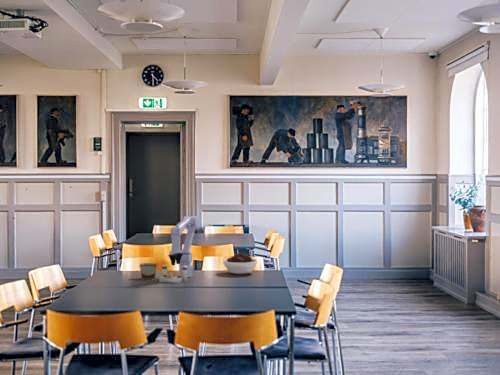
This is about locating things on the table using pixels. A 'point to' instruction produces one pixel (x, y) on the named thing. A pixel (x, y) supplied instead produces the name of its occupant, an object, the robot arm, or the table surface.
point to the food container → (148, 270)
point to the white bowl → (240, 264)
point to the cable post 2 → (184, 273)
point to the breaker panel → (171, 279)
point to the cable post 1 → (164, 270)
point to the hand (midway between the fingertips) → (175, 264)
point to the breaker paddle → (170, 274)
